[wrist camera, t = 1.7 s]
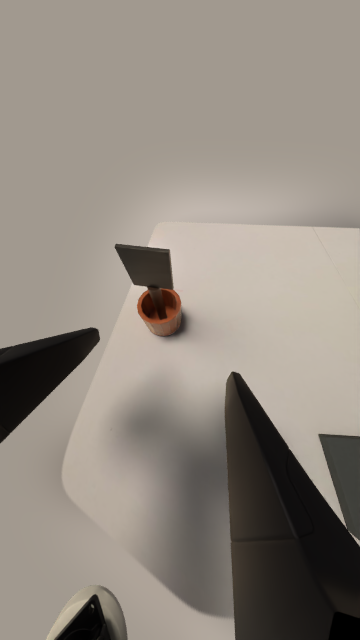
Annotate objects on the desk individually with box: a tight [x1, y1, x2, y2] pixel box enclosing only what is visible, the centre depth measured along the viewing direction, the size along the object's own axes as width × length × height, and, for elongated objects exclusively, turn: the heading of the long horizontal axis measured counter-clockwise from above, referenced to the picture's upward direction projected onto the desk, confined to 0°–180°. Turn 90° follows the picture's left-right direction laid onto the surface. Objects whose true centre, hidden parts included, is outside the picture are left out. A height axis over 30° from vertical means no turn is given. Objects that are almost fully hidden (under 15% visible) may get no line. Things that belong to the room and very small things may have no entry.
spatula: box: [115, 244, 174, 320], centre depth 17 cm, size 2×5×14 cm, turn 80°
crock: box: [137, 288, 181, 336], centre depth 22 cm, size 6×6×6 cm
